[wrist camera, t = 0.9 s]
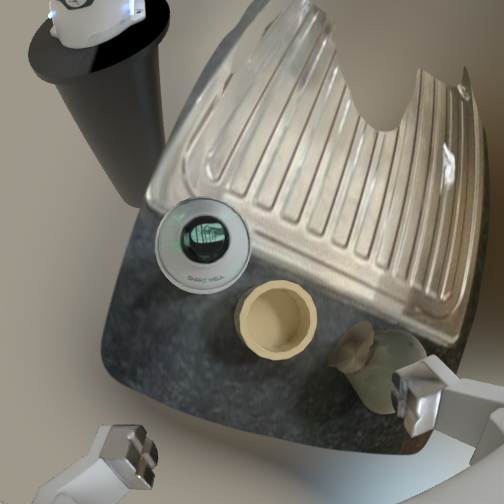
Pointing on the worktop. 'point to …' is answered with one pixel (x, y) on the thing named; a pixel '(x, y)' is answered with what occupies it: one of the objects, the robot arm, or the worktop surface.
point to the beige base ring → (275, 319)
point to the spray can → (203, 245)
